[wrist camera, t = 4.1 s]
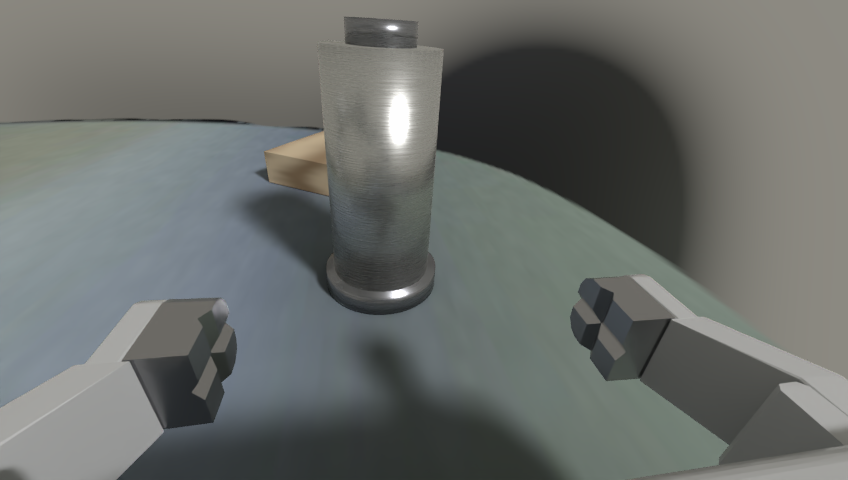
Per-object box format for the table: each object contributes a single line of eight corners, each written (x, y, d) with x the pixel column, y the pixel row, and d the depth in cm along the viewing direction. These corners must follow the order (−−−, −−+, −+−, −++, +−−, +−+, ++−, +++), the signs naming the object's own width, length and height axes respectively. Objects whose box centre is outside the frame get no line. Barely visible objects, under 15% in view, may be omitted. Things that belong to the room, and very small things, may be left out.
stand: (269, 181, 35) (264, 151, 34) (329, 155, 43) (327, 129, 42) (359, 203, 32) (357, 170, 31) (405, 170, 40) (406, 143, 39)
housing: (304, 294, 21) (266, 10, 14) (362, 242, 27) (355, 18, 19) (407, 328, 19) (423, 20, 12) (447, 265, 25) (474, 26, 17)
